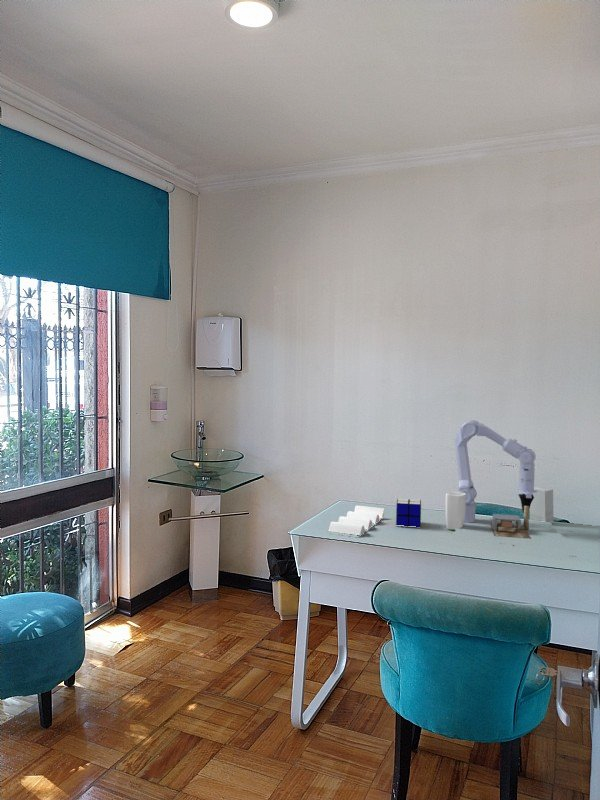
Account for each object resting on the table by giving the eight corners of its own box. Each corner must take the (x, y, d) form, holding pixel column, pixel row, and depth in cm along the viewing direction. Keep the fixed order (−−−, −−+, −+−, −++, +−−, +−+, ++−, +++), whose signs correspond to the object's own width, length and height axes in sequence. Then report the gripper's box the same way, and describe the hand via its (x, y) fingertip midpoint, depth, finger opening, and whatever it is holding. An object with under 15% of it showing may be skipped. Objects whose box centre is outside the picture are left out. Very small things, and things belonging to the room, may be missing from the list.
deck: (494, 539, 242) (494, 535, 242) (489, 527, 262) (490, 523, 262) (530, 542, 240) (531, 538, 240) (523, 529, 259) (523, 525, 259)
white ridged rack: (327, 535, 247) (327, 522, 247) (355, 516, 279) (355, 505, 279) (358, 539, 242) (359, 526, 242) (383, 520, 274) (384, 508, 274)
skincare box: (553, 523, 270) (554, 489, 269) (544, 525, 267) (546, 490, 266) (536, 519, 277) (538, 486, 276) (528, 521, 274) (529, 487, 273)
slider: (498, 530, 249) (499, 507, 249) (496, 526, 257) (497, 503, 256) (530, 532, 247) (531, 509, 246) (528, 528, 254) (529, 505, 253)
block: (501, 530, 250) (501, 520, 250) (500, 528, 254) (500, 518, 254) (511, 531, 250) (512, 521, 249) (510, 529, 253) (511, 519, 253)
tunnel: (494, 531, 249) (494, 518, 249) (492, 526, 257) (492, 513, 257) (520, 533, 247) (520, 520, 247) (517, 528, 255) (518, 515, 255)
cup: (443, 530, 256) (444, 494, 255) (448, 526, 262) (449, 491, 261) (461, 532, 252) (462, 496, 252) (465, 528, 259) (466, 493, 258)
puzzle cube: (396, 526, 260) (396, 503, 260) (396, 521, 270) (397, 498, 269) (420, 528, 258) (421, 504, 258) (420, 522, 268) (420, 499, 268)
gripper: (540, 482, 247) (538, 516, 248) (534, 476, 261) (533, 509, 262) (521, 481, 248) (520, 515, 249) (516, 475, 263) (515, 507, 263)
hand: (525, 512), depth 256 cm, fingers closed
